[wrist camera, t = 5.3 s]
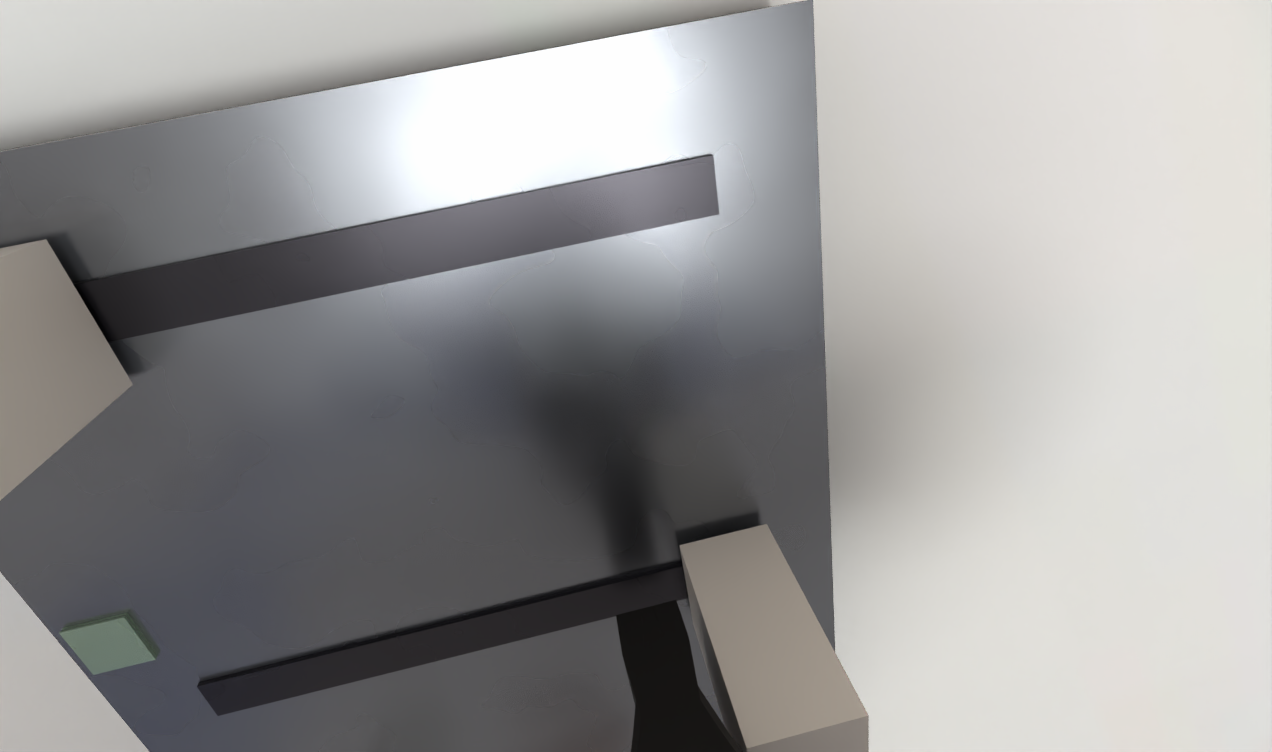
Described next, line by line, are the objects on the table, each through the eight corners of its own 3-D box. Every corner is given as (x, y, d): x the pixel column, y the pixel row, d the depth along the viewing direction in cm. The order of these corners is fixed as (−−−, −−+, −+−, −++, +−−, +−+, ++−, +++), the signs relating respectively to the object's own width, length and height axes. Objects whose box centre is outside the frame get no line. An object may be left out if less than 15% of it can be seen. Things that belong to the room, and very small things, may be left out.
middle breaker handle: (693, 624, 12) (758, 835, 9) (679, 545, 12) (746, 748, 8) (774, 604, 13) (868, 805, 9) (766, 523, 12) (867, 715, 8)
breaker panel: (335, 886, 17) (319, 962, 16) (-176, 183, 9) (-312, 210, 7) (816, 755, 18) (842, 816, 16) (771, 6, 10) (815, -2, 8)
